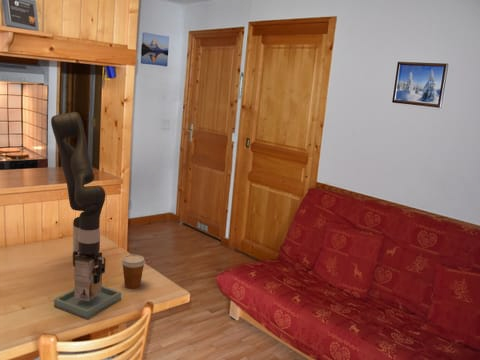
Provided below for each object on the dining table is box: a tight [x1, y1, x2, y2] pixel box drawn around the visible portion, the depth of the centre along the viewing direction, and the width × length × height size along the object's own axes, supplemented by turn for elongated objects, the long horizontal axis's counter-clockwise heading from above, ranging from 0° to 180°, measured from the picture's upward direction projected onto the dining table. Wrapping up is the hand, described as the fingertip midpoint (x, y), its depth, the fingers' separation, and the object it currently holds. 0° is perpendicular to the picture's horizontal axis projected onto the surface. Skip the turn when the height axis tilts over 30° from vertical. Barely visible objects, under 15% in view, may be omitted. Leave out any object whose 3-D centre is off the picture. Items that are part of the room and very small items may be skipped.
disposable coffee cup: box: [121, 254, 146, 290], centre depth 184 cm, size 10×10×12 cm
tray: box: [53, 285, 122, 320], centre depth 168 cm, size 18×16×3 cm
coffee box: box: [73, 251, 103, 301], centre depth 165 cm, size 9×6×16 cm
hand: (88, 280), depth 166 cm, fingers closed on coffee box, 7 cm apart
